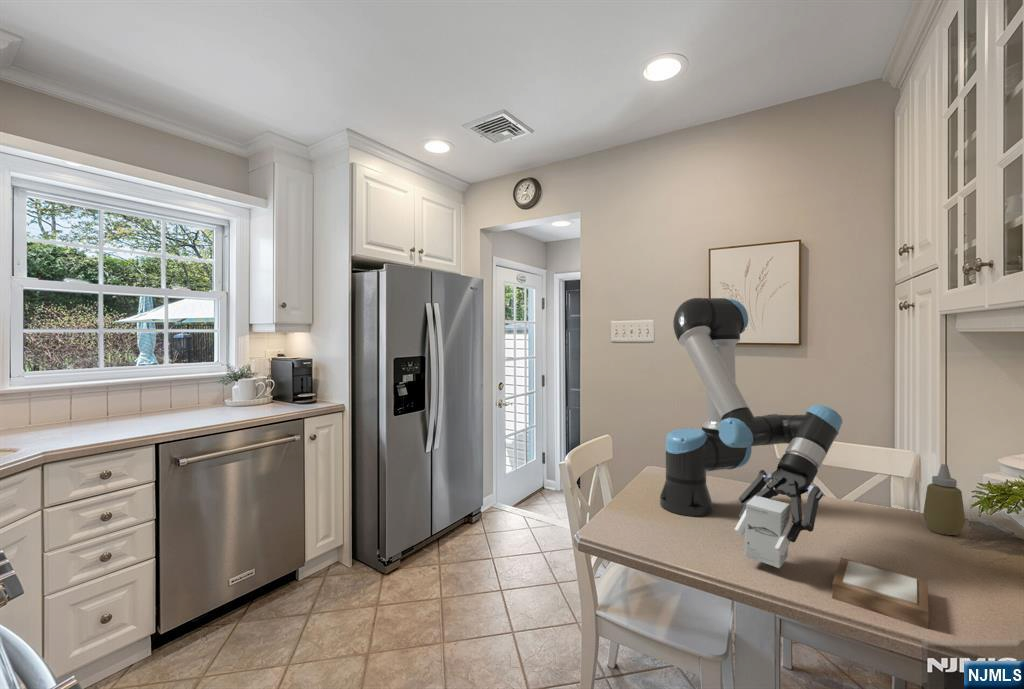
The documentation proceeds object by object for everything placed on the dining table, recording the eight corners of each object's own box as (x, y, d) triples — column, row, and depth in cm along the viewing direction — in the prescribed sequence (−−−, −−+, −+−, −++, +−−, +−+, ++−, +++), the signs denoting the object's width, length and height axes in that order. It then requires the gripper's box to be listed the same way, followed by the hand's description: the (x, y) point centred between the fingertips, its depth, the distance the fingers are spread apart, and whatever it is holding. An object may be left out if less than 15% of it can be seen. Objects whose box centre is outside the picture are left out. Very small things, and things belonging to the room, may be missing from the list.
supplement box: (743, 557, 101) (744, 502, 100) (754, 545, 106) (755, 494, 105) (780, 569, 95) (781, 512, 95) (789, 557, 100) (790, 502, 100)
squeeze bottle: (963, 531, 118) (964, 464, 117) (967, 541, 112) (967, 471, 111) (922, 522, 123) (923, 458, 123) (923, 532, 117) (924, 465, 117)
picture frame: (832, 597, 88) (832, 581, 88) (840, 570, 99) (840, 555, 98) (928, 628, 79) (928, 610, 79) (926, 594, 89) (926, 578, 89)
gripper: (858, 485, 97) (815, 574, 91) (763, 459, 116) (722, 531, 110) (846, 465, 95) (801, 555, 88) (751, 441, 114) (708, 514, 107)
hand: (757, 541), depth 99 cm, fingers closed on supplement box, 9 cm apart
